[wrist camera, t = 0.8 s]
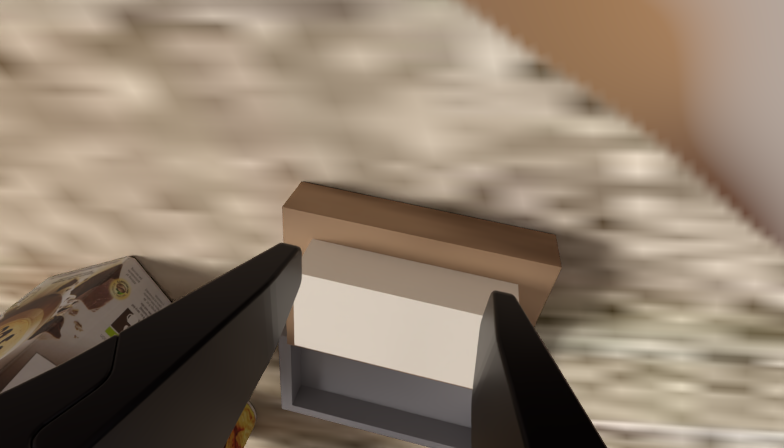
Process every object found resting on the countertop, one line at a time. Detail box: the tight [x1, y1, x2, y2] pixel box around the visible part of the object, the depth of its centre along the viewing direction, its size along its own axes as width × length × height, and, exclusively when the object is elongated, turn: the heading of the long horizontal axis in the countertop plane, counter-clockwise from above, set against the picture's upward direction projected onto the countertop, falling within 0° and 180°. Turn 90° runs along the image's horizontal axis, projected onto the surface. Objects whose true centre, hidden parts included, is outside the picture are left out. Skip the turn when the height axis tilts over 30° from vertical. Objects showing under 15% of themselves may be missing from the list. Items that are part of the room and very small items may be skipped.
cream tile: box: [294, 239, 519, 389], centre depth 21 cm, size 5×10×2 cm, turn 83°
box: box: [278, 324, 472, 448], centre depth 29 cm, size 8×15×2 cm, turn 83°
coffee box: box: [0, 256, 171, 393], centre depth 25 cm, size 9×6×16 cm
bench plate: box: [282, 182, 562, 389], centre depth 24 cm, size 10×13×2 cm
